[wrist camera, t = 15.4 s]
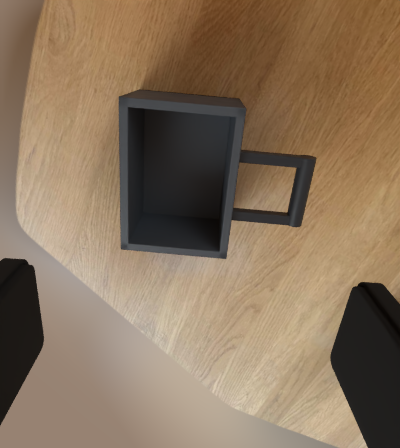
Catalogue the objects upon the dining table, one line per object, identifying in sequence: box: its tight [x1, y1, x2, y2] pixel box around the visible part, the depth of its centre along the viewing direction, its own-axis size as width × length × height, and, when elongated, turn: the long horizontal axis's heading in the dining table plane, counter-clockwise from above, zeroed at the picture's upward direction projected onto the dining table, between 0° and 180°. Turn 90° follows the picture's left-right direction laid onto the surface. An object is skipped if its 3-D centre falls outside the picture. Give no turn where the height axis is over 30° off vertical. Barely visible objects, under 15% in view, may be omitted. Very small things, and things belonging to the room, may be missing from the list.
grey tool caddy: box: [119, 90, 316, 259], centre depth 37 cm, size 18×15×9 cm
